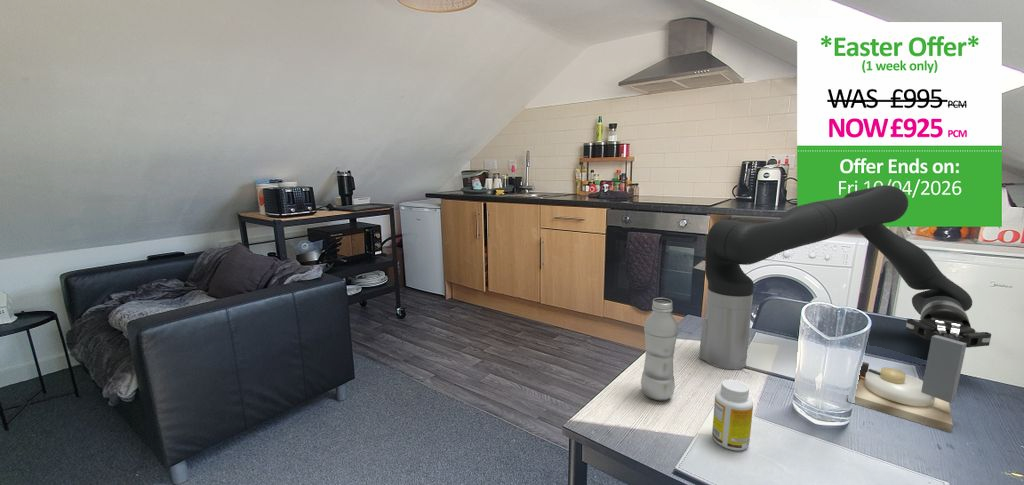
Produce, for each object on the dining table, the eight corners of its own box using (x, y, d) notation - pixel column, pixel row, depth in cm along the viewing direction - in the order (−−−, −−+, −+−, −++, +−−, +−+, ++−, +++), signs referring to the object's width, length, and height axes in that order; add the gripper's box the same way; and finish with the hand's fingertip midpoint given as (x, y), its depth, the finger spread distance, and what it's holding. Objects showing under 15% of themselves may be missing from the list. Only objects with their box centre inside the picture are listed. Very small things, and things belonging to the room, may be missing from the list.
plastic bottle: (638, 401, 81) (643, 304, 77) (641, 384, 87) (646, 293, 83) (673, 408, 78) (680, 308, 75) (674, 390, 85) (680, 297, 81)
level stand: (846, 401, 80) (850, 380, 79) (853, 374, 90) (856, 355, 89) (950, 432, 70) (955, 408, 70) (945, 399, 80) (950, 377, 80)
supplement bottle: (754, 442, 69) (760, 386, 67) (740, 457, 65) (746, 398, 63) (720, 426, 73) (725, 373, 71) (705, 439, 69) (710, 384, 67)
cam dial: (853, 385, 82) (862, 324, 80) (881, 374, 86) (890, 316, 84) (936, 419, 71) (950, 349, 69) (963, 405, 75) (978, 339, 73)
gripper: (906, 298, 97) (905, 318, 85) (991, 311, 88) (1004, 336, 76) (901, 328, 98) (899, 352, 86) (984, 343, 89) (996, 373, 77)
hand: (948, 345), depth 81 cm, fingers closed
